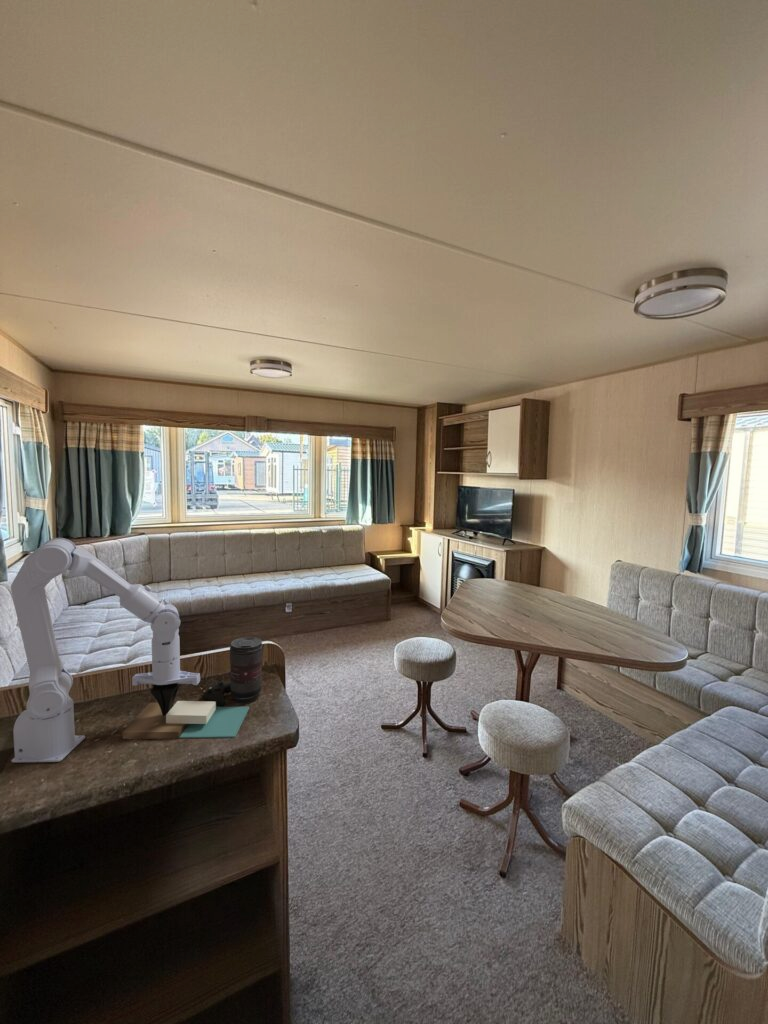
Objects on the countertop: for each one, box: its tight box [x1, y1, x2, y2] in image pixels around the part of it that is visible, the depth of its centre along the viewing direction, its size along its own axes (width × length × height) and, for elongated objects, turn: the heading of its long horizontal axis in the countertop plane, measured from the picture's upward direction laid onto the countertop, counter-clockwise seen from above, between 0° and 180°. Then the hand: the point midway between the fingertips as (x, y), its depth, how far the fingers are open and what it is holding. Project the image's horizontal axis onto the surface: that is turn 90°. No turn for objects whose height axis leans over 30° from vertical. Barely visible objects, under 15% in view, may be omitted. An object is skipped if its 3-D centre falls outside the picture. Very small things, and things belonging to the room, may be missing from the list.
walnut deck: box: [121, 702, 188, 740], centre depth 98 cm, size 12×12×2 cm
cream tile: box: [166, 700, 217, 724], centre depth 98 cm, size 9×6×2 cm, turn 93°
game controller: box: [202, 681, 231, 707], centre depth 110 cm, size 10×5×6 cm
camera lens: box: [229, 636, 264, 705], centre depth 109 cm, size 8×8×15 cm
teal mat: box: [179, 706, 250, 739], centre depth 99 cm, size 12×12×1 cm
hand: (167, 713), depth 98 cm, fingers closed
